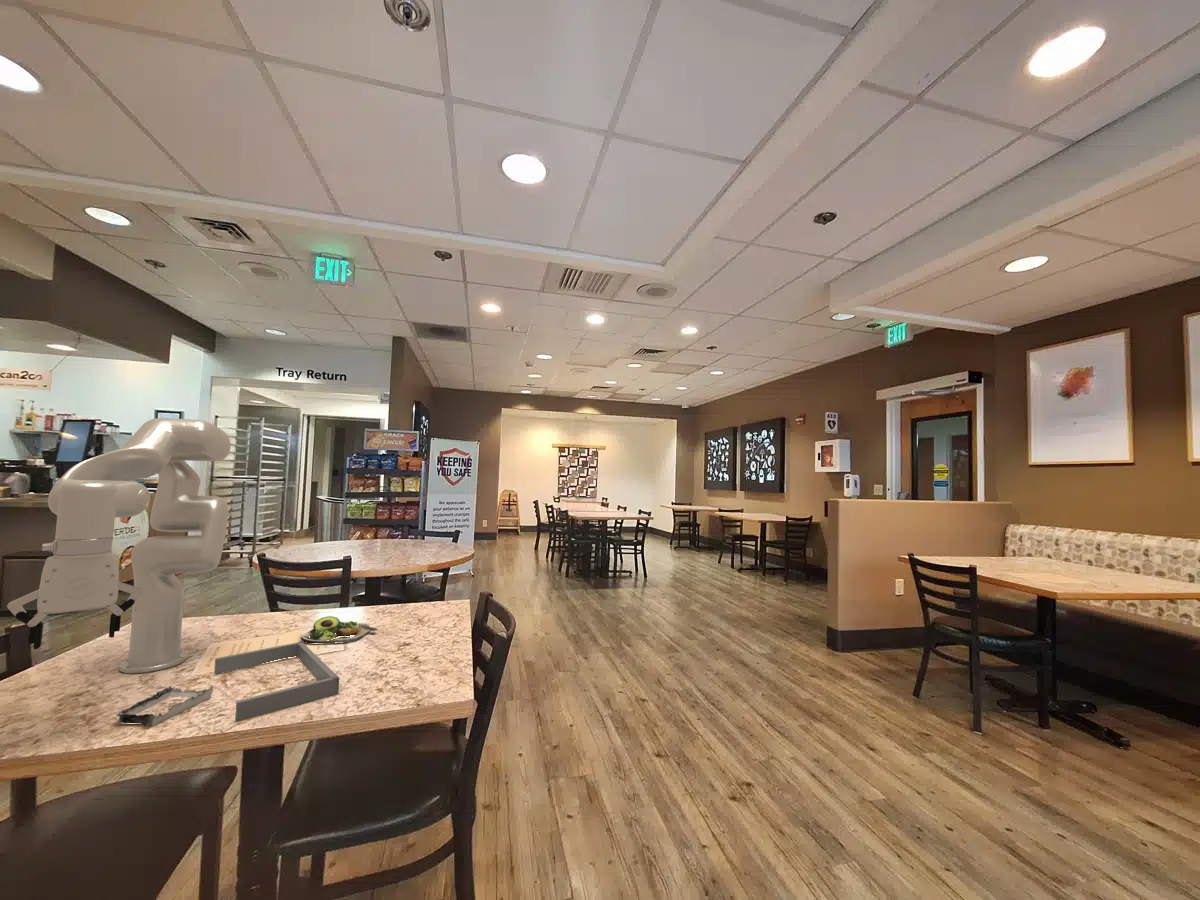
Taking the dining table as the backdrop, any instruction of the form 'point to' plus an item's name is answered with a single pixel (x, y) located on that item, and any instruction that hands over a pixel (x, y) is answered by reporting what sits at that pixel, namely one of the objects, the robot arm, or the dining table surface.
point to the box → (285, 697)
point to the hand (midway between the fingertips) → (75, 641)
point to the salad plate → (335, 630)
